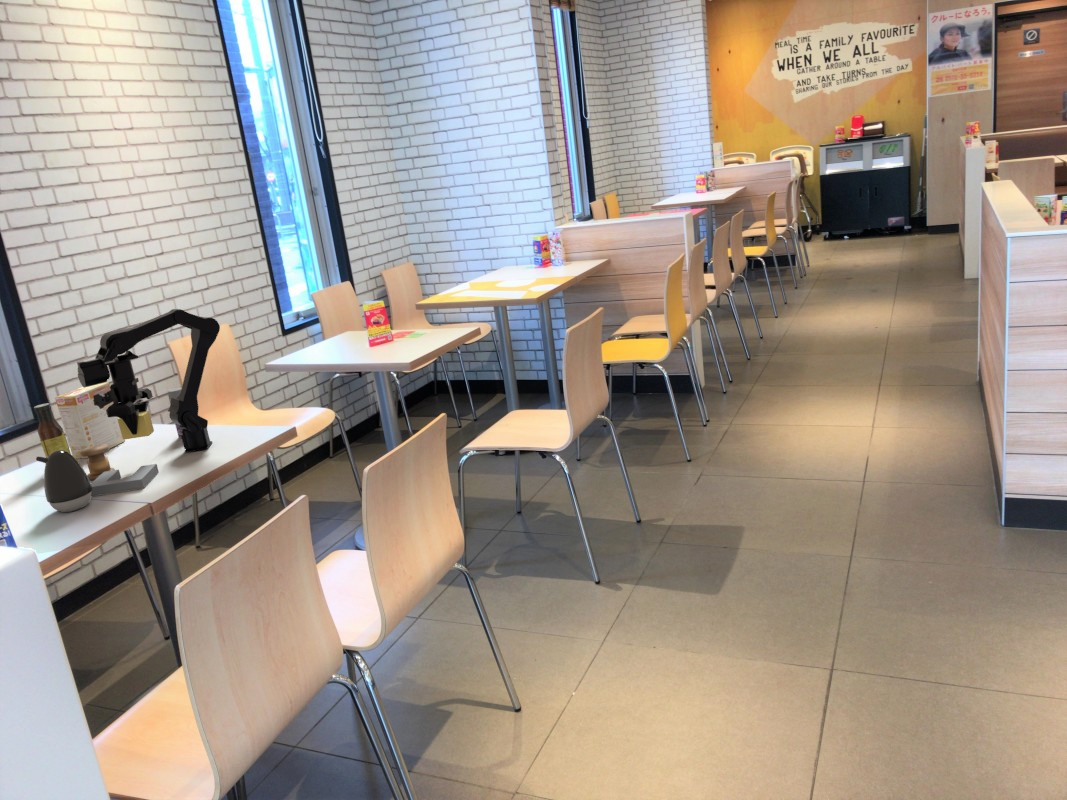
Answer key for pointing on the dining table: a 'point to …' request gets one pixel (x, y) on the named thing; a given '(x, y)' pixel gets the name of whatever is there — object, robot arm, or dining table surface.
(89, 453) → the ball
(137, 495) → the dining table surface
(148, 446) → the dining table surface
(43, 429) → the sauce bottle
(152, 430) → the tab
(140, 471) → the gray u-shaped block
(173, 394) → the container
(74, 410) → the coffeecake box
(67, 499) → the pump dispenser
